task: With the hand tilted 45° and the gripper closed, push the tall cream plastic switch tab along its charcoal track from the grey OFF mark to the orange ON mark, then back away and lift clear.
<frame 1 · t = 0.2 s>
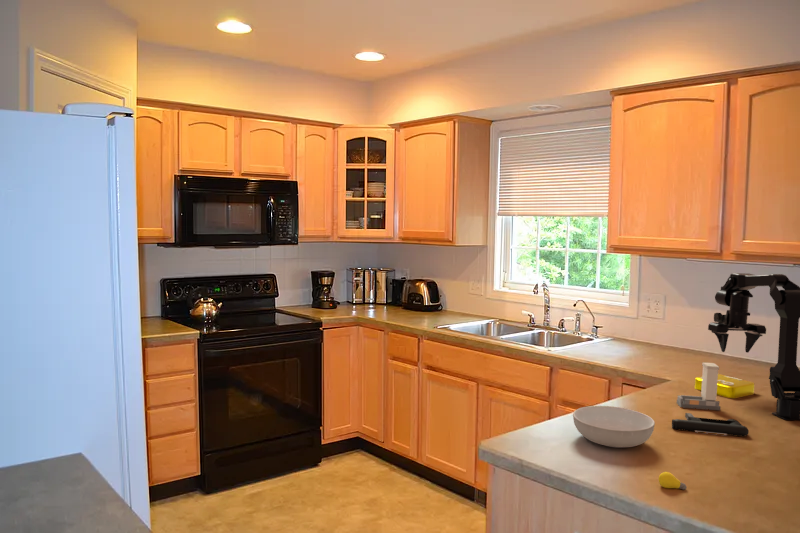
hand: (735, 352, 220), 15 cm above the worktop, tool pointing down, fingers open, 9 cm apart
serving bowl: (611, 442, 168), on the worktop
light bulb: (672, 489, 139), on the worktop
element tile: (723, 392, 223), on the worktop
switch base: (698, 406, 203), on the worktop
door handle: (705, 428, 183), on the worktop
switch tab: (709, 384, 202), point 8 cm above the worktop, slide at 0.0 cm
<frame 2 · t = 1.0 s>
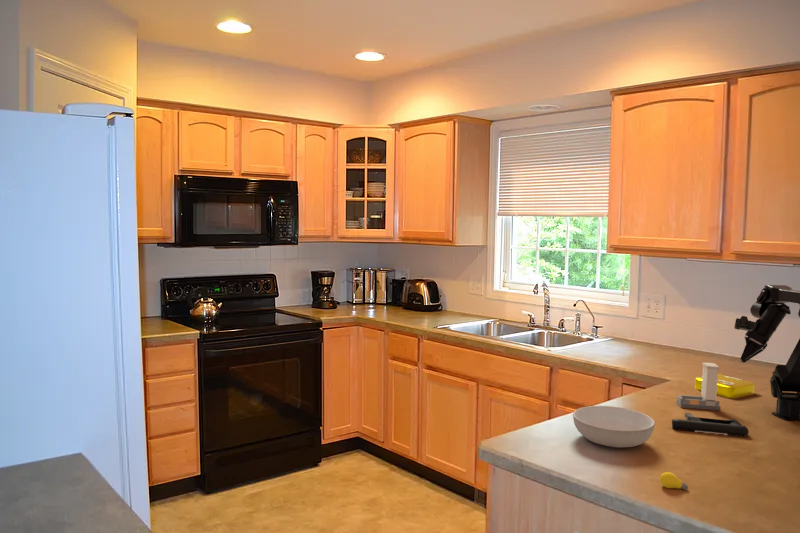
hand: (742, 361, 205), 15 cm above the worktop, tool tilted 30°, fingers open, 9 cm apart
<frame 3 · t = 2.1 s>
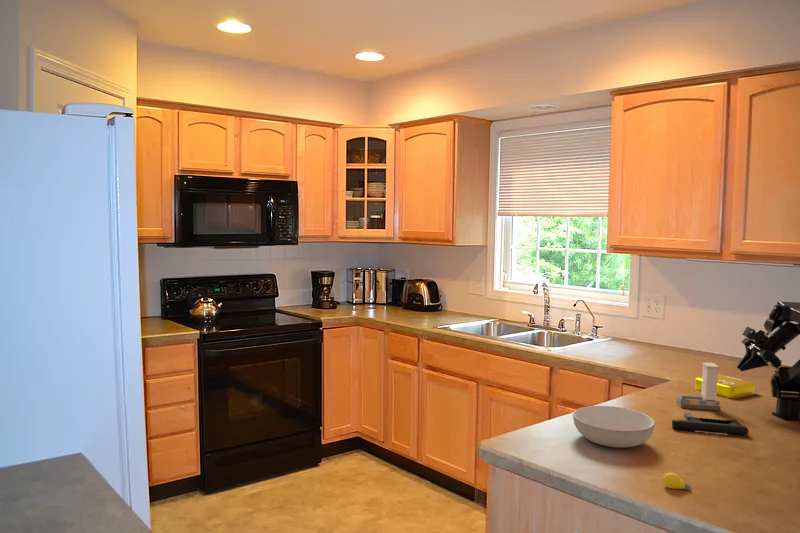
hand: (739, 369, 200), 13 cm above the worktop, tool tilted 45°, fingers closed
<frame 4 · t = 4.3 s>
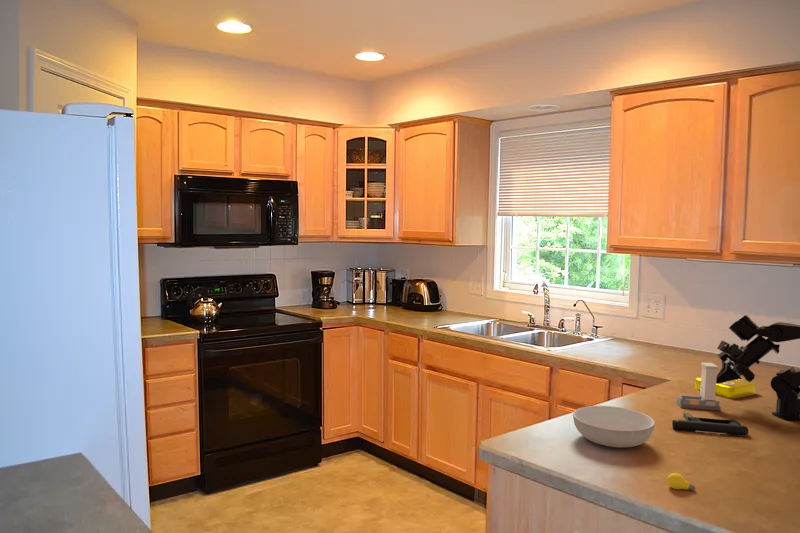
hand: (714, 382, 201), 8 cm above the worktop, tool tilted 45°, fingers closed, pressing on switch tab
switch tab: (708, 384, 202), point 8 cm above the worktop, slide at 0.4 cm, touching gripper
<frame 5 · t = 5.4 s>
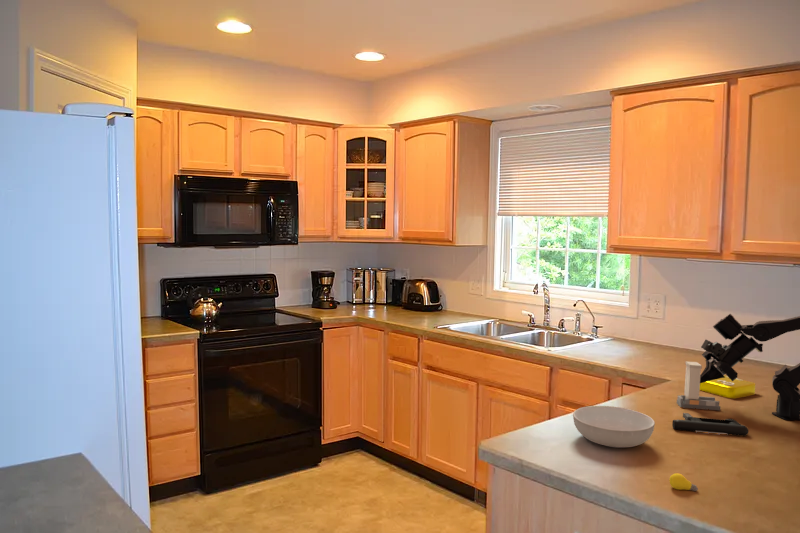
hand: (698, 381, 202), 8 cm above the worktop, tool tilted 45°, fingers closed, pressing on switch tab
switch tab: (692, 382, 202), point 8 cm above the worktop, slide at 5.2 cm, touching gripper
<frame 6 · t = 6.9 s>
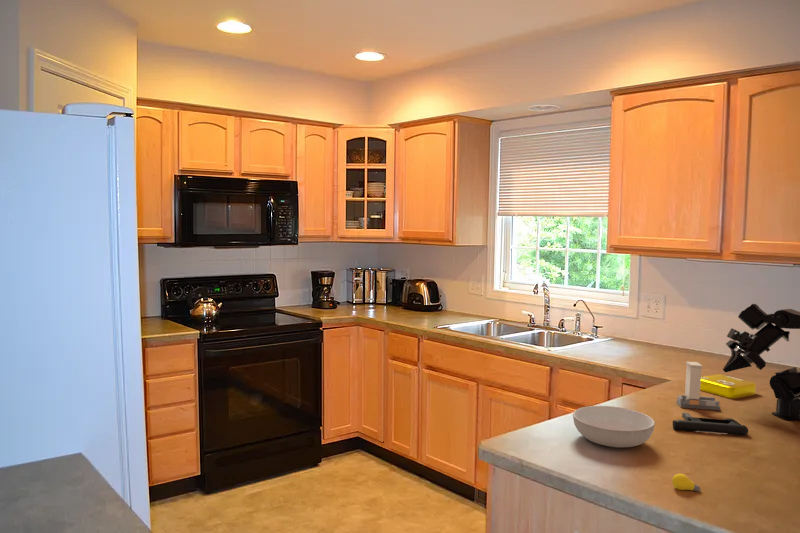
hand: (723, 371, 200), 12 cm above the worktop, tool tilted 45°, fingers closed
switch tab: (692, 382, 202), point 8 cm above the worktop, slide at 5.0 cm
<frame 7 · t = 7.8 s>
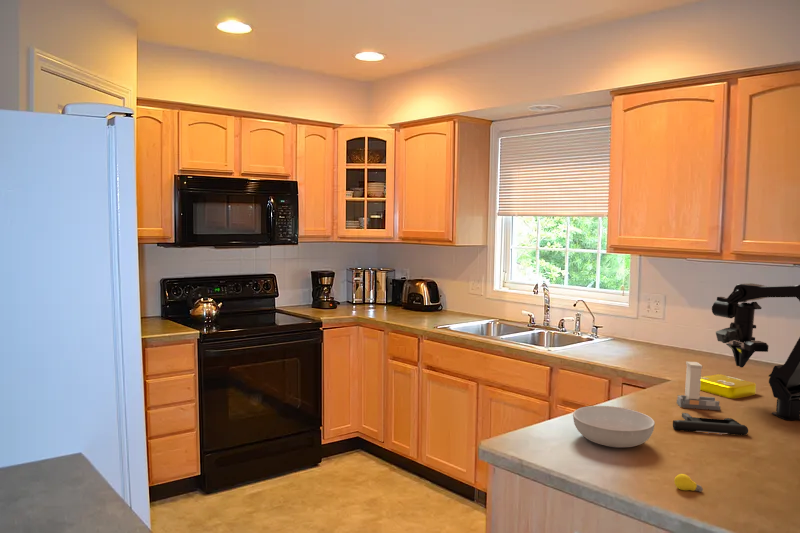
hand: (739, 366, 208), 12 cm above the worktop, tool pointing down, fingers closed
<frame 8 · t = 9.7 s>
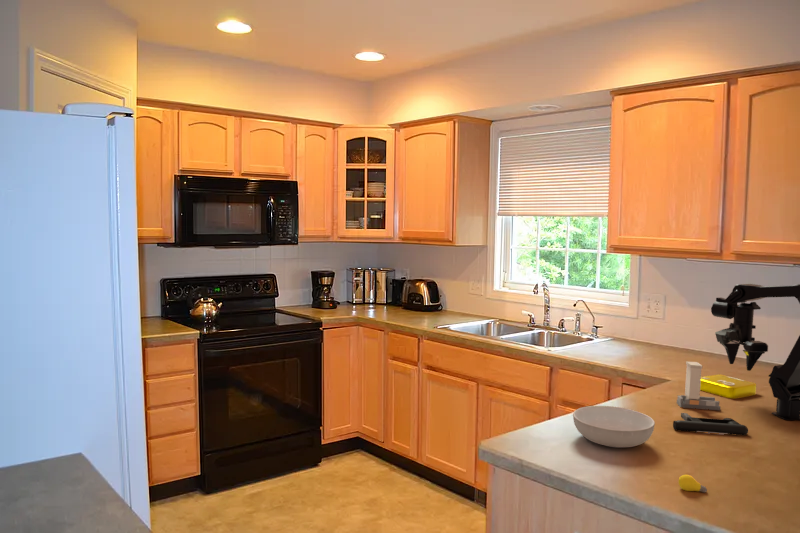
hand: (739, 367, 208), 12 cm above the worktop, tool pointing down, fingers open, 9 cm apart
at the end: switch tab slide at 5.0 cm; the gripper is holding nothing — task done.
